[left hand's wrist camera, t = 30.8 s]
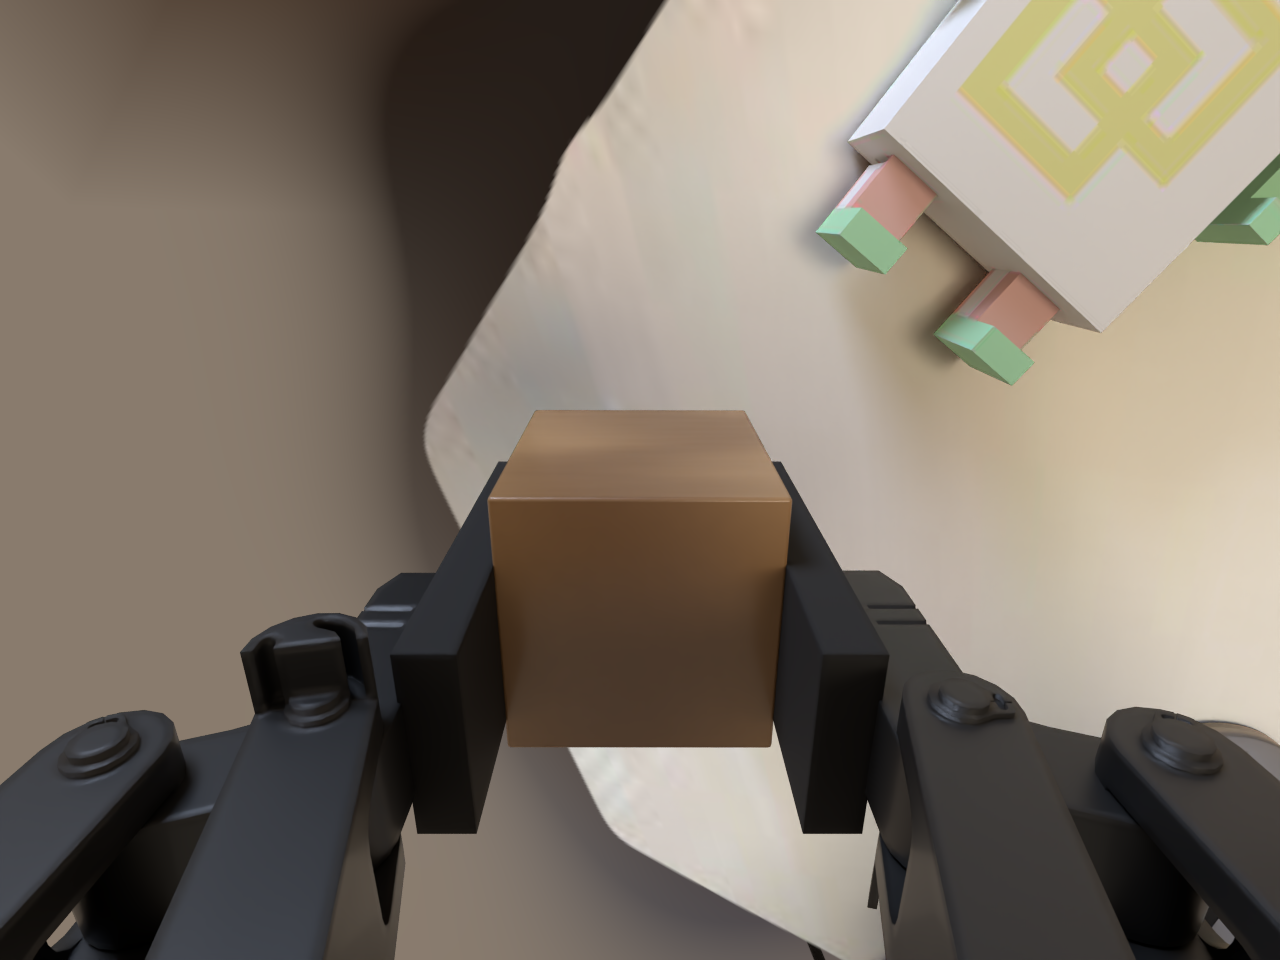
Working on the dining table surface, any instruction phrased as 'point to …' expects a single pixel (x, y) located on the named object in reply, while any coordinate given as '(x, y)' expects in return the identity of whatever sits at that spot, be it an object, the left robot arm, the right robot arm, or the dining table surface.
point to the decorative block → (1070, 156)
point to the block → (639, 580)
